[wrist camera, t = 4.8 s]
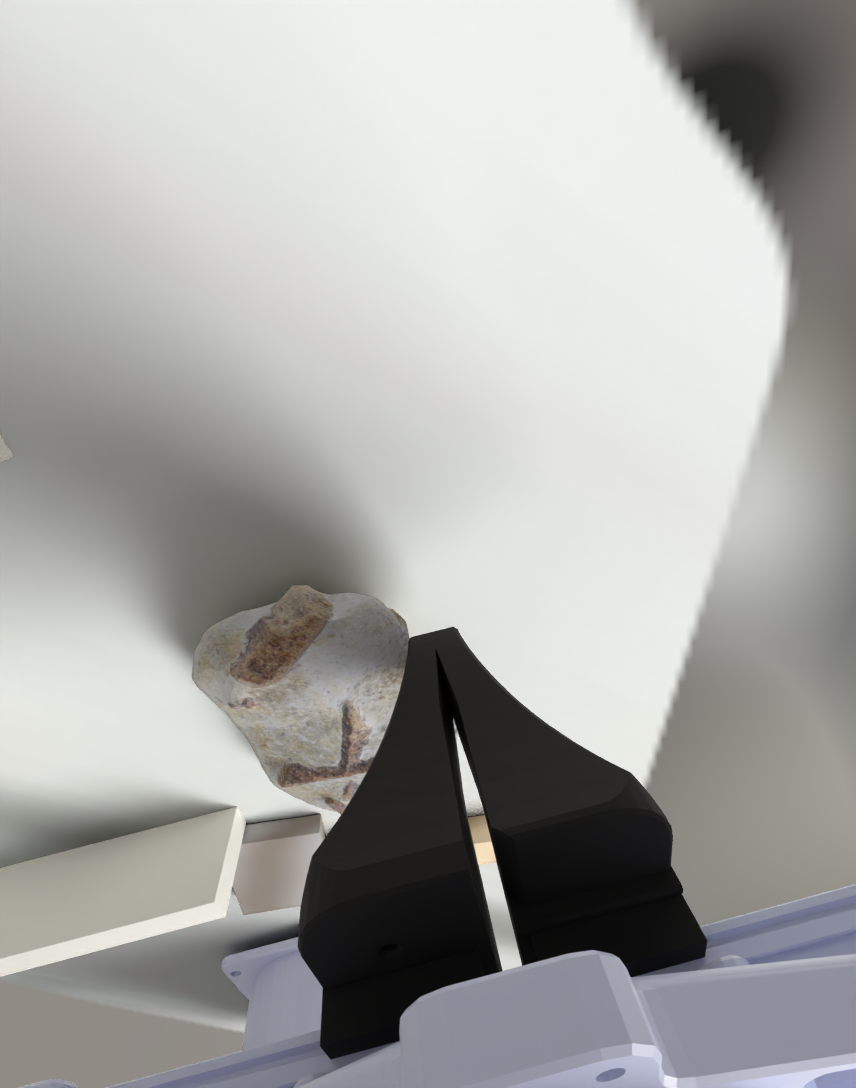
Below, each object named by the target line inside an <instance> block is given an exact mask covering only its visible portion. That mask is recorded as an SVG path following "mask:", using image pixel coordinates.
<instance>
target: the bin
mask: <svg viewBox="0 0 856 1088" xmlns="http://www.w3.org/2000/svg"><path fill="white" fill-rule="evenodd" d="M12 457H14V456H13V454H12V453H11V451H10V449H9V448H8V446H7V445H6V443H5V442H4V440H3V438H2V437H1V435H0V462H3V461H5V460H7V459H9V458H12ZM245 825H246V820H245V818H244V817H243V815H242V814H241V812H240V810H239V809H238V807H233V808H229V809H226V810H222V811H218V812H214V813H210V814H206V815H202V816H199V817H195V818H191V819H187V820H183V821H179V822H175V823H171V824H168V825H164V826H160V827H156V828H152V829H148V830H144V831H140V832H137V833H133V834H129V835H125V836H121V837H117V838H113V839H110V840H106V841H102V842H98V843H94V844H90V845H86V846H83V847H79V848H75V849H71V850H67V851H63V852H59V853H56V854H52V855H48V856H44V857H40V858H36V859H32V860H29V861H25V862H21V863H17V864H13V865H9V866H5V867H2V868H0V977H2V976H5V975H9V974H13V973H17V972H20V971H24V970H28V969H32V968H35V967H39V966H43V965H47V964H50V963H54V962H58V961H62V960H66V959H69V958H73V957H77V956H81V955H84V954H88V953H92V952H96V951H99V950H103V949H107V948H111V947H115V946H118V945H122V944H126V943H130V942H133V941H137V940H141V939H145V938H148V937H152V936H156V935H160V934H163V933H167V932H171V931H175V930H179V929H182V928H186V927H190V926H194V925H197V924H201V923H205V922H209V921H212V920H216V919H220V918H224V917H226V914H227V909H228V904H229V900H230V895H231V890H232V886H233V881H234V876H235V872H236V867H237V862H238V858H239V853H240V848H241V844H242V839H243V834H244V830H245Z"/></svg>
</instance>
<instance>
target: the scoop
mask: <svg viewBox="0 0 856 1088" xmlns="http://www.w3.org/2000/svg"><path fill="white" fill-rule="evenodd" d="M468 821H469V825H470V830H471V834H472V839H473V843H474V848H475V852H476V857H477V861H478V865H481V864H487V863H494V862H496V858H495V854H494V850H493V846H492V842H491V838H490V834H489V830H488V826H487V822H486V818H485V815H482V816H475V817H468ZM324 839H325V833H324V828H323V823H322V818H321V814H319V815H312V816H305V817H298V818H291V819H284V820H277V821H270V822H263V823H256V824H249V825H245V830H244V834H243V839H242V844H241V848H240V853H239V858H238V862H237V867H236V872H235V876H234V881H233V889H234V892H235V894H236V897H237V899H238V902H239V905H240V907H241V910H242V913H243V915H247V914H254V913H260V912H266V911H272V910H278V909H284V908H290V907H296V906H301V902H302V896H303V891H304V886H305V882H306V877H307V873H308V869H309V865H310V861H311V858H312V855H313V854H314V852H315V851H316V850H317V848H318V847H319V846H320V844H321V843H322V842H323V840H324Z"/></svg>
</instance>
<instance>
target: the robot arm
mask: <svg viewBox="0 0 856 1088" xmlns="http://www.w3.org/2000/svg"><path fill="white" fill-rule="evenodd" d="M453 719H454V721H453ZM454 722H455V725H456V728H457V731H458V734H459V737H460V740H461V743H462V745H463V748H464V751H465V754H466V757H467V760H468V763H469V766H470V769H471V772H472V775H473V777H474V780H475V783H476V786H477V789H478V792H479V796H480V799H481V802H482V806H483V810H484V814H485V818H486V822H487V826H488V830H489V834H490V838H491V842H492V846H493V850H494V854H495V858H496V862H497V866H498V870H499V874H500V878H501V882H502V886H503V890H504V894H505V898H506V902H507V906H508V910H509V914H510V918H511V922H512V926H513V930H514V934H515V938H516V942H517V946H518V950H519V954H520V958H521V962H522V966H520V967H516V968H513V969H509V970H505V971H502V967H501V963H500V958H499V954H498V950H497V945H496V941H495V936H494V932H493V928H492V923H491V919H490V914H489V910H488V905H487V901H486V897H485V892H484V888H483V883H482V879H481V874H480V870H479V866H478V861H477V857H476V852H475V848H474V843H473V839H472V834H471V830H470V825H469V821H468V816H467V812H466V807H465V801H464V795H463V788H462V781H461V773H460V766H459V758H458V751H457V743H456V736H455V729H454ZM672 841H673V835H672V828H671V825H670V824H669V822H668V821H667V818H666V816H665V815H664V813H663V812H662V810H661V809H660V808H659V806H658V805H657V803H656V802H655V801H654V799H653V798H652V797H651V796H650V794H649V793H648V792H647V791H646V789H645V788H644V787H643V786H642V785H641V784H640V782H639V781H638V780H637V779H636V778H635V777H634V776H633V775H632V773H630V772H628V771H626V770H624V769H622V768H620V767H618V766H616V765H614V764H612V763H610V762H608V761H606V760H604V759H603V758H601V757H599V756H597V755H595V754H593V753H592V752H590V751H588V750H587V749H585V748H583V747H582V746H580V745H578V744H576V743H575V742H573V741H572V740H570V739H569V738H567V737H566V736H564V735H563V734H561V733H560V732H558V731H557V730H555V729H554V728H552V727H551V726H549V725H548V724H547V723H545V722H544V721H543V720H541V719H540V718H539V717H537V716H536V715H535V714H534V713H532V712H531V711H530V710H529V709H527V708H526V707H525V706H524V705H523V704H521V703H520V702H519V701H518V700H517V699H516V698H515V697H513V696H512V695H511V694H510V693H509V692H508V691H507V690H506V689H505V688H504V687H503V686H502V685H501V684H500V683H499V682H498V681H497V680H496V679H495V678H494V677H493V676H492V675H491V674H490V673H489V672H488V670H487V669H486V668H485V667H484V666H483V665H482V664H481V662H480V661H479V660H478V659H477V658H476V656H475V655H474V654H473V653H472V651H471V650H470V649H469V647H468V646H467V644H466V643H465V642H464V640H463V638H462V637H461V635H460V633H459V631H458V629H456V628H454V627H450V628H446V629H442V630H438V631H434V632H430V633H426V634H422V635H418V636H414V637H411V638H410V640H409V641H408V653H407V660H406V665H405V670H404V675H403V679H402V683H401V687H400V691H399V694H398V698H397V701H396V704H395V707H394V710H393V713H392V716H391V719H390V722H389V724H388V727H387V729H386V732H385V734H384V737H383V739H382V741H381V744H380V746H379V748H378V750H377V753H376V755H375V757H374V759H373V761H372V763H371V765H370V767H369V769H368V771H367V773H366V774H365V776H364V778H363V780H362V782H361V784H360V785H359V787H358V789H357V790H356V792H355V793H354V795H353V797H352V798H351V800H350V802H349V803H348V805H347V807H346V808H345V810H344V812H343V813H342V815H341V816H340V818H339V819H338V821H337V822H336V823H335V825H334V826H333V828H332V829H331V830H330V832H329V833H328V835H327V836H326V837H325V839H324V840H323V842H322V843H321V844H320V846H319V847H318V848H317V850H316V851H315V852H314V854H313V855H312V858H311V861H310V865H309V869H308V873H307V877H306V882H305V886H304V891H303V896H302V902H301V910H300V922H299V934H298V937H296V938H292V939H288V940H284V941H281V942H277V943H273V944H269V945H266V946H262V947H258V948H254V949H251V950H247V951H243V952H239V953H236V954H232V955H229V956H227V957H225V958H224V959H223V962H222V967H221V970H222V971H223V973H224V974H225V975H226V976H227V977H228V978H229V979H230V980H231V982H232V983H233V984H234V985H235V986H236V987H237V988H238V989H239V990H240V992H241V993H242V994H243V995H244V996H245V997H246V998H247V999H248V1000H249V1006H248V1013H247V1019H246V1026H245V1032H244V1039H243V1045H242V1051H238V1052H235V1053H231V1054H227V1055H224V1056H220V1057H217V1058H213V1059H209V1060H205V1061H202V1062H198V1063H194V1064H191V1065H187V1066H184V1067H180V1068H176V1069H172V1070H168V1071H165V1072H161V1073H157V1074H154V1075H150V1076H146V1077H143V1078H139V1079H136V1080H132V1081H128V1082H124V1083H121V1084H117V1085H113V1086H109V1087H106V1088H856V884H854V885H850V886H847V887H843V888H839V889H836V890H832V891H828V892H824V893H821V894H817V895H813V896H810V897H806V898H802V899H799V900H795V901H791V902H788V903H784V904H780V905H777V906H773V907H769V908H766V909H762V910H758V911H754V912H751V913H747V914H744V915H740V916H736V917H733V918H729V919H725V920H722V921H718V922H714V923H710V924H707V925H703V926H699V924H698V923H697V921H696V919H695V917H694V916H693V914H692V912H691V910H690V908H689V907H688V905H687V903H686V901H685V899H684V897H683V896H682V894H681V893H683V888H682V885H681V883H680V881H679V879H678V877H677V876H676V874H675V872H674V870H673V869H672V867H671V854H672ZM18 1088H79V1087H78V1086H77V1085H75V1084H74V1083H72V1082H70V1081H66V1080H62V1079H51V1080H45V1081H40V1082H36V1083H33V1084H29V1085H25V1086H21V1087H18Z"/></svg>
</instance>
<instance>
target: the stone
mask: <svg viewBox="0 0 856 1088" xmlns="http://www.w3.org/2000/svg"><path fill="white" fill-rule="evenodd" d="M409 640H410V638H409V634H408V629H407V624H406V622H405V620H404V619H403V618H402V617H401V616H400V615H399V614H398V613H396V612H395V611H394V610H392V609H389V608H387V607H386V606H385V605H384V604H383V603H381V602H380V601H379V600H378V599H376V598H373V597H370V596H367V595H362V594H356V593H351V592H350V593H340V594H331V595H328V594H324V593H321V592H319V591H316V590H314V589H312V588H311V587H310V586H308V585H293V586H291V587H290V588H289V589H288V591H287V592H286V593H285V594H284V595H283V597H282V598H281V599H280V600H279V601H278V602H275V603H272V604H269V605H266V606H263V607H259V608H255V609H250V610H245V611H241V612H239V613H236V614H234V615H232V616H230V617H228V618H226V619H224V620H222V621H220V622H218V623H216V624H214V625H213V626H211V627H210V628H208V629H207V630H206V631H205V632H204V634H203V635H202V638H201V640H200V642H199V644H198V646H197V648H196V650H195V653H194V659H193V668H192V679H193V681H194V683H195V684H196V686H197V687H198V688H199V689H200V690H201V691H202V692H204V693H205V694H206V695H207V696H208V697H209V698H210V699H211V700H212V701H213V702H214V703H215V704H216V705H217V706H218V707H219V708H220V709H222V710H223V711H224V712H225V713H226V714H227V715H228V716H229V717H230V719H231V720H232V721H233V722H234V724H235V725H236V726H237V727H238V728H239V729H240V730H241V731H242V733H243V734H244V735H245V736H246V737H247V739H248V740H249V742H250V744H251V746H252V748H253V750H254V752H255V754H256V756H257V758H258V760H259V762H260V764H261V766H262V768H263V770H264V771H265V773H266V774H267V776H268V778H269V779H270V781H271V782H272V783H273V784H274V786H276V787H278V788H279V789H281V790H283V791H284V792H286V793H288V794H290V795H291V796H293V797H295V798H298V799H301V800H303V801H305V802H307V803H309V804H311V805H314V806H317V807H320V808H322V809H326V810H330V811H334V812H338V813H340V814H341V815H342V813H343V812H344V810H345V808H346V807H347V805H348V803H349V802H350V800H351V798H352V797H353V795H354V793H355V792H356V790H357V789H358V787H359V785H360V784H361V782H362V780H363V778H364V776H365V774H366V773H367V771H368V769H369V767H370V765H371V763H372V761H373V759H374V757H375V755H376V753H377V750H378V748H379V746H380V744H381V741H382V739H383V737H384V734H385V732H386V729H387V727H388V724H389V722H390V719H391V716H392V713H393V710H394V707H395V704H396V701H397V698H398V694H399V691H400V687H401V683H402V679H403V675H404V670H405V665H406V660H407V653H408V641H409ZM453 721H454V719H453ZM454 729H455V736H456V740H457V736H458V731H457V728H456V725H455V722H454Z"/></svg>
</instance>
